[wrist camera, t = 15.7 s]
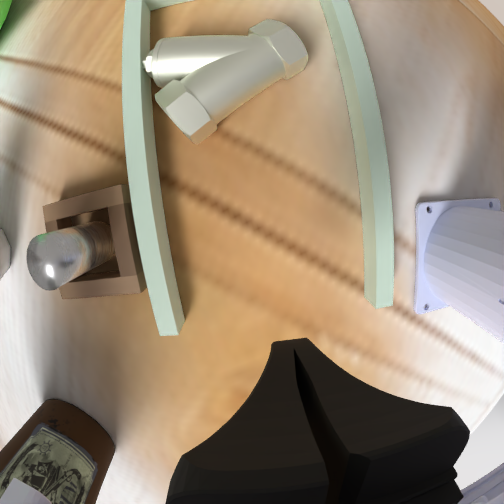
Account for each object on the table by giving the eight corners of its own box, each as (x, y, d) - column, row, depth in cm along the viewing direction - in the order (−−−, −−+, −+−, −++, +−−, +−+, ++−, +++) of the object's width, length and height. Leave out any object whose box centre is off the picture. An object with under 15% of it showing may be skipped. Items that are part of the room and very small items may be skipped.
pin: (111, 217, 17) (57, 230, 11) (120, 259, 17) (70, 288, 11) (79, 225, 17) (22, 239, 11) (87, 264, 17) (34, 292, 11)
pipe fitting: (143, 82, 15) (200, 149, 16) (117, 57, 11) (182, 133, 12) (237, 16, 14) (303, 75, 15) (231, -18, 10) (312, 44, 11)
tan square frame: (133, 184, 16) (120, 184, 14) (150, 283, 18) (140, 292, 16) (57, 204, 16) (42, 206, 15) (75, 290, 18) (62, 299, 16)
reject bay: (328, -17, 13) (334, -31, 11) (380, 294, 18) (392, 305, 16) (135, 5, 13) (126, -8, 11) (168, 321, 18) (159, 335, 16)
